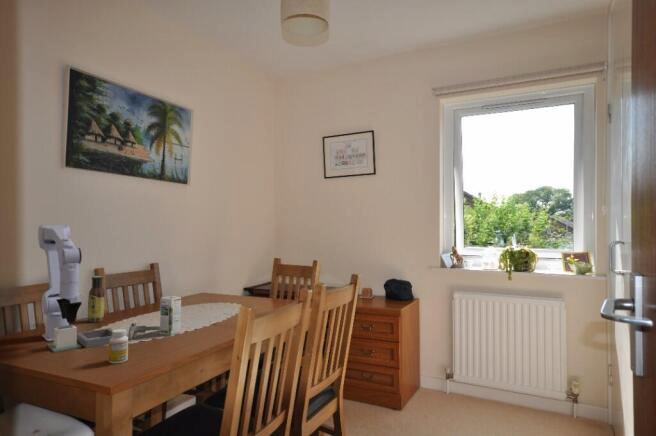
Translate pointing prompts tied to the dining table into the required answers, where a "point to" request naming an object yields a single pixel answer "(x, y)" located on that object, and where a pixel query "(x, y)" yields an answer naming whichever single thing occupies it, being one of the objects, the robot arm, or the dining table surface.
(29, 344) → the dining table surface
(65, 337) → the block
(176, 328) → the syrup box
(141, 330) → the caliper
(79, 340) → the grey square frame
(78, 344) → the rubber mat
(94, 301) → the sauce bottle
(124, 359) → the supplement bottle
